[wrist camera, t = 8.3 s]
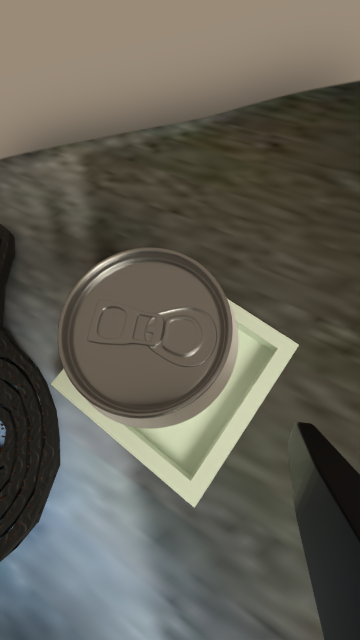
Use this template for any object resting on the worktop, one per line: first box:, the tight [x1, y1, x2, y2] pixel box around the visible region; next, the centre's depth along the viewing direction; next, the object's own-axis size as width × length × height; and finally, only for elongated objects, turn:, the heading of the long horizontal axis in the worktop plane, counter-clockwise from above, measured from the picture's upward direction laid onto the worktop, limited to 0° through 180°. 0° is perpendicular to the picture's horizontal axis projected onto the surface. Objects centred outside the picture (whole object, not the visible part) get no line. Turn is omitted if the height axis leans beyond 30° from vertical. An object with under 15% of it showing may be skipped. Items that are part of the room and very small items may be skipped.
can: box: [58, 248, 238, 429], centre depth 15 cm, size 6×6×12 cm
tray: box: [51, 300, 299, 508], centre depth 20 cm, size 12×12×2 cm
